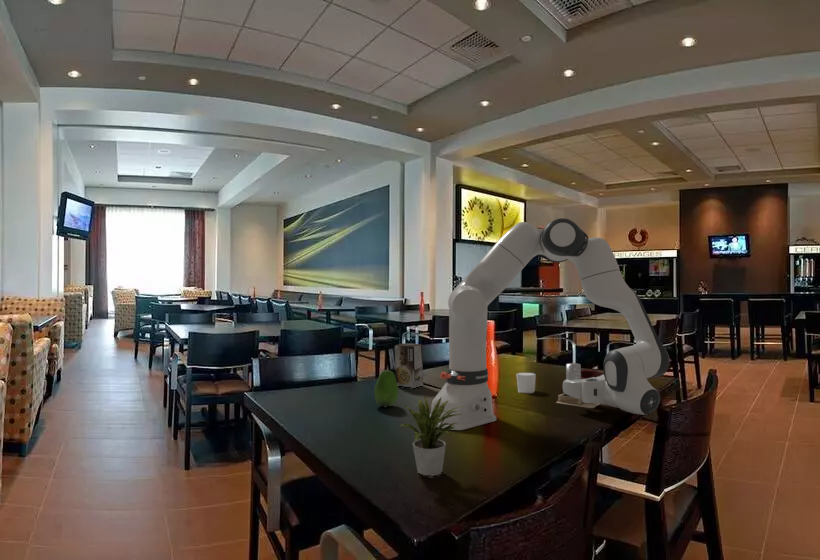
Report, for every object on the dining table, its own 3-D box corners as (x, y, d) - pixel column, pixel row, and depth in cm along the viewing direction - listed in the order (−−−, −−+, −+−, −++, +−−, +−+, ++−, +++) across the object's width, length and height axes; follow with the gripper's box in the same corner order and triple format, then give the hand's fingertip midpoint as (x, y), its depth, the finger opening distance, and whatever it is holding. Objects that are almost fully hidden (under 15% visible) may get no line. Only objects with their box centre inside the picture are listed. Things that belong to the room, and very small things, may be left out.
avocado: (398, 409, 159) (397, 371, 159) (373, 410, 159) (372, 372, 159) (398, 403, 167) (398, 367, 167) (375, 403, 167) (374, 367, 167)
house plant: (451, 493, 97) (450, 408, 97) (386, 483, 102) (385, 403, 102) (470, 467, 110) (470, 392, 110) (411, 459, 115) (411, 388, 115)
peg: (577, 403, 161) (577, 366, 161) (564, 401, 164) (563, 364, 164) (583, 400, 164) (582, 364, 164) (569, 398, 167) (569, 362, 167)
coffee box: (423, 386, 194) (423, 344, 194) (415, 389, 189) (414, 346, 189) (403, 383, 199) (403, 342, 199) (394, 386, 193) (394, 344, 193)
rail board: (592, 410, 155) (592, 401, 155) (555, 404, 163) (555, 396, 163) (618, 396, 174) (618, 388, 173) (583, 391, 181) (583, 383, 181)
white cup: (538, 395, 176) (537, 375, 176) (518, 395, 176) (518, 375, 176) (533, 391, 183) (533, 371, 183) (514, 391, 183) (514, 372, 183)
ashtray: (562, 387, 189) (562, 374, 189) (585, 381, 200) (585, 368, 200) (608, 395, 176) (607, 381, 176) (629, 388, 186) (629, 375, 186)
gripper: (636, 376, 152) (604, 368, 165) (580, 381, 145) (551, 373, 158) (637, 397, 152) (604, 388, 165) (580, 403, 145) (552, 393, 158)
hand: (578, 381), depth 162 cm, fingers open, 8 cm apart
